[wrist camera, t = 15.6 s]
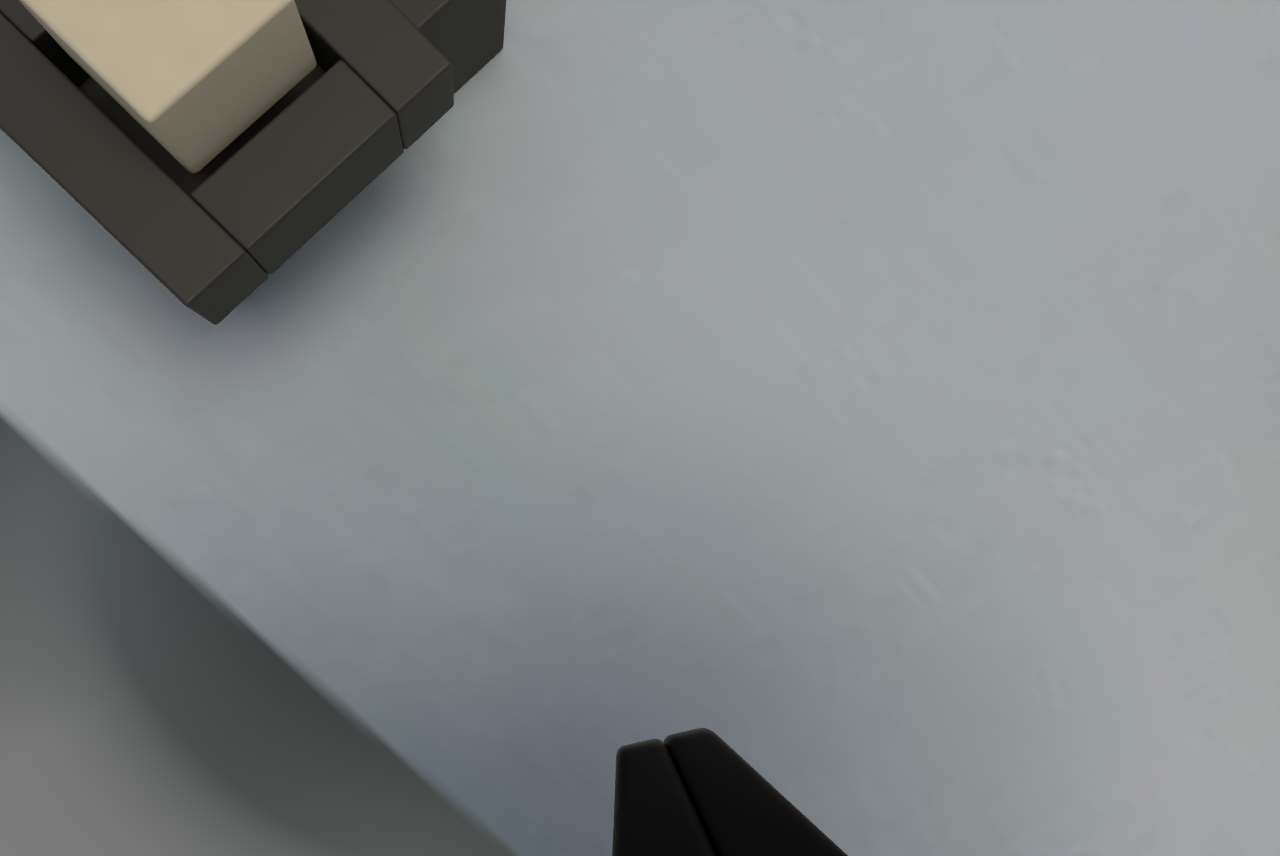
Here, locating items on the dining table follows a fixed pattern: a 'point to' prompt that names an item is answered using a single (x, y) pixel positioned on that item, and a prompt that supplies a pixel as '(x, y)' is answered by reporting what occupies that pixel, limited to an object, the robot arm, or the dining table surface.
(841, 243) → the dining table surface
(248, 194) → the dark notched block
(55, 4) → the cream cube block
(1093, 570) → the dining table surface
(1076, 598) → the dining table surface
